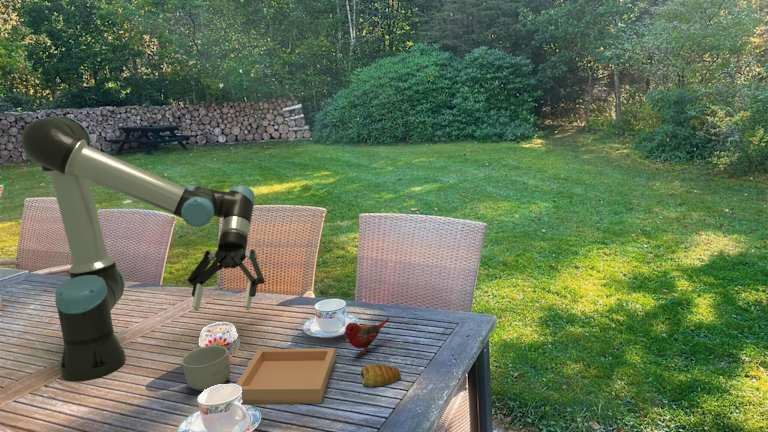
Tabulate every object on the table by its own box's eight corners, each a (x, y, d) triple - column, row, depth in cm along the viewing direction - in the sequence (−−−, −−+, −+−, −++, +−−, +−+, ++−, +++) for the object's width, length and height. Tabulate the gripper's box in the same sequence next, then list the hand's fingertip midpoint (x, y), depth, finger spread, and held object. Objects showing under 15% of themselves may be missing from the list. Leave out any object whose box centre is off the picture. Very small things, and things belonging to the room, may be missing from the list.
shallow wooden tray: (233, 403, 128) (232, 389, 127) (259, 361, 147) (258, 349, 147) (321, 403, 126) (320, 389, 125) (335, 360, 146) (334, 348, 145)
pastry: (396, 371, 139) (396, 356, 139) (403, 384, 133) (402, 369, 132) (359, 376, 138) (358, 362, 137) (364, 390, 131) (363, 375, 130)
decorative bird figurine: (341, 361, 145) (339, 325, 143) (386, 336, 158) (384, 303, 156) (350, 364, 143) (347, 327, 141) (394, 339, 156) (392, 305, 154)
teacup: (218, 398, 131) (214, 366, 129) (176, 395, 133) (171, 363, 131) (244, 368, 144) (241, 339, 142) (205, 366, 146) (202, 338, 145)
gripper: (281, 242, 159) (272, 313, 148) (195, 244, 161) (180, 314, 150) (274, 228, 153) (264, 301, 141) (185, 231, 155) (168, 303, 144)
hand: (221, 308), depth 146 cm, fingers open, 13 cm apart
